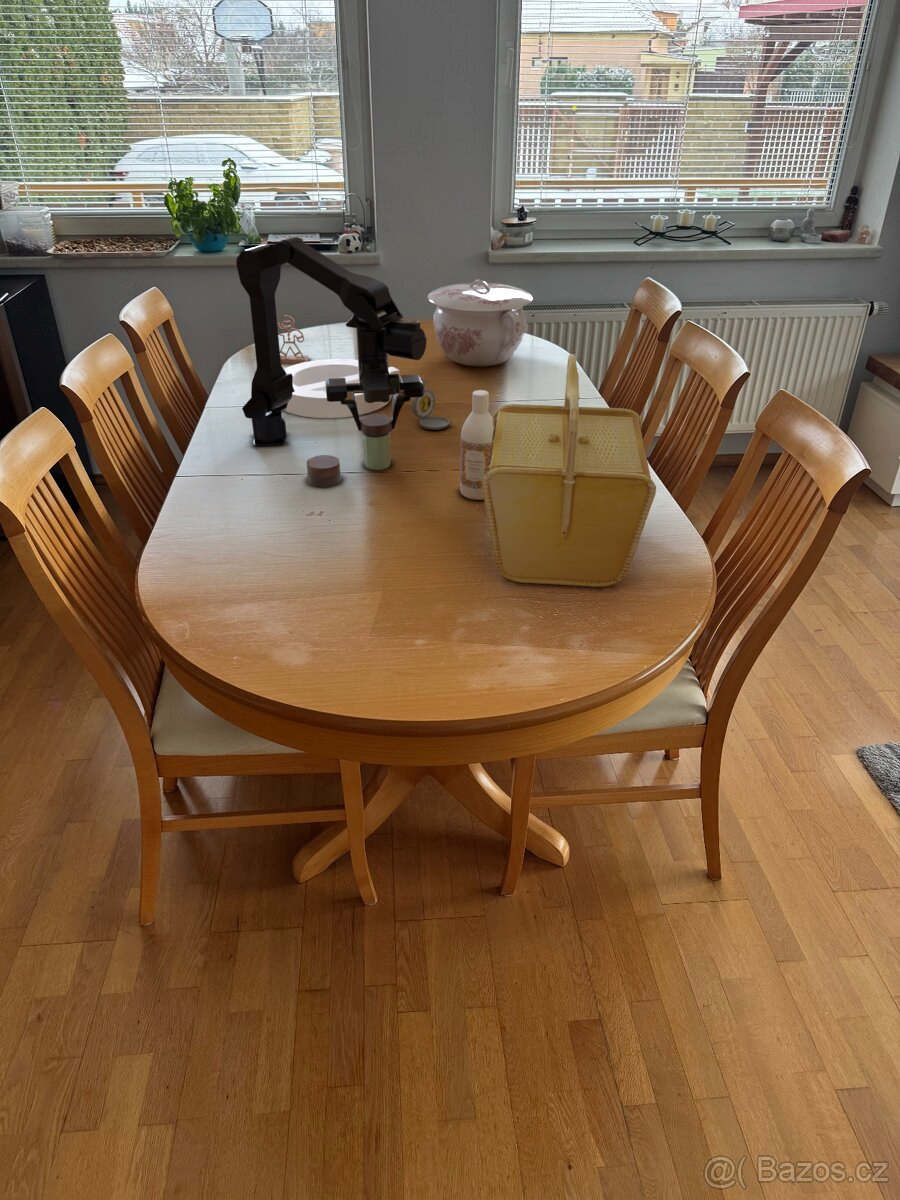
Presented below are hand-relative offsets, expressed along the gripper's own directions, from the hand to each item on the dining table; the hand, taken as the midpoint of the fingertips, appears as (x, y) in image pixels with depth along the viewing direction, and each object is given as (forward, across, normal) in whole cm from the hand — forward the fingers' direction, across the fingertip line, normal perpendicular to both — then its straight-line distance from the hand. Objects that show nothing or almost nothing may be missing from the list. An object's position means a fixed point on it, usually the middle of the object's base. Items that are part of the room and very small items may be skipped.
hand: (376, 429), depth 176 cm
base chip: (+8, -11, -6) cm, 15 cm away
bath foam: (+8, +18, -16) cm, 25 cm away
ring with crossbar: (+8, -7, +41) cm, 42 cm away
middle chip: (+6, -11, -6) cm, 14 cm away
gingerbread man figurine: (+8, -17, +70) cm, 72 cm away
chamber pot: (+8, +33, +64) cm, 72 cm away
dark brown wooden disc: (0, 0, 0) cm, 0 cm away
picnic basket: (+8, +28, -39) cm, 49 cm away
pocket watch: (+8, +14, +20) cm, 26 cm away
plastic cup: (+8, 0, 0) cm, 8 cm away
